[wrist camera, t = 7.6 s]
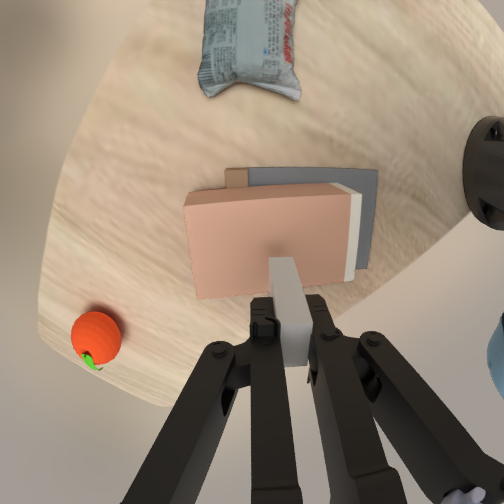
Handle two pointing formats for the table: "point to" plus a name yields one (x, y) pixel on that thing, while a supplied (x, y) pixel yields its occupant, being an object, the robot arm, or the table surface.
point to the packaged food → (249, 46)
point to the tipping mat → (351, 178)
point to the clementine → (95, 338)
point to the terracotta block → (271, 235)
